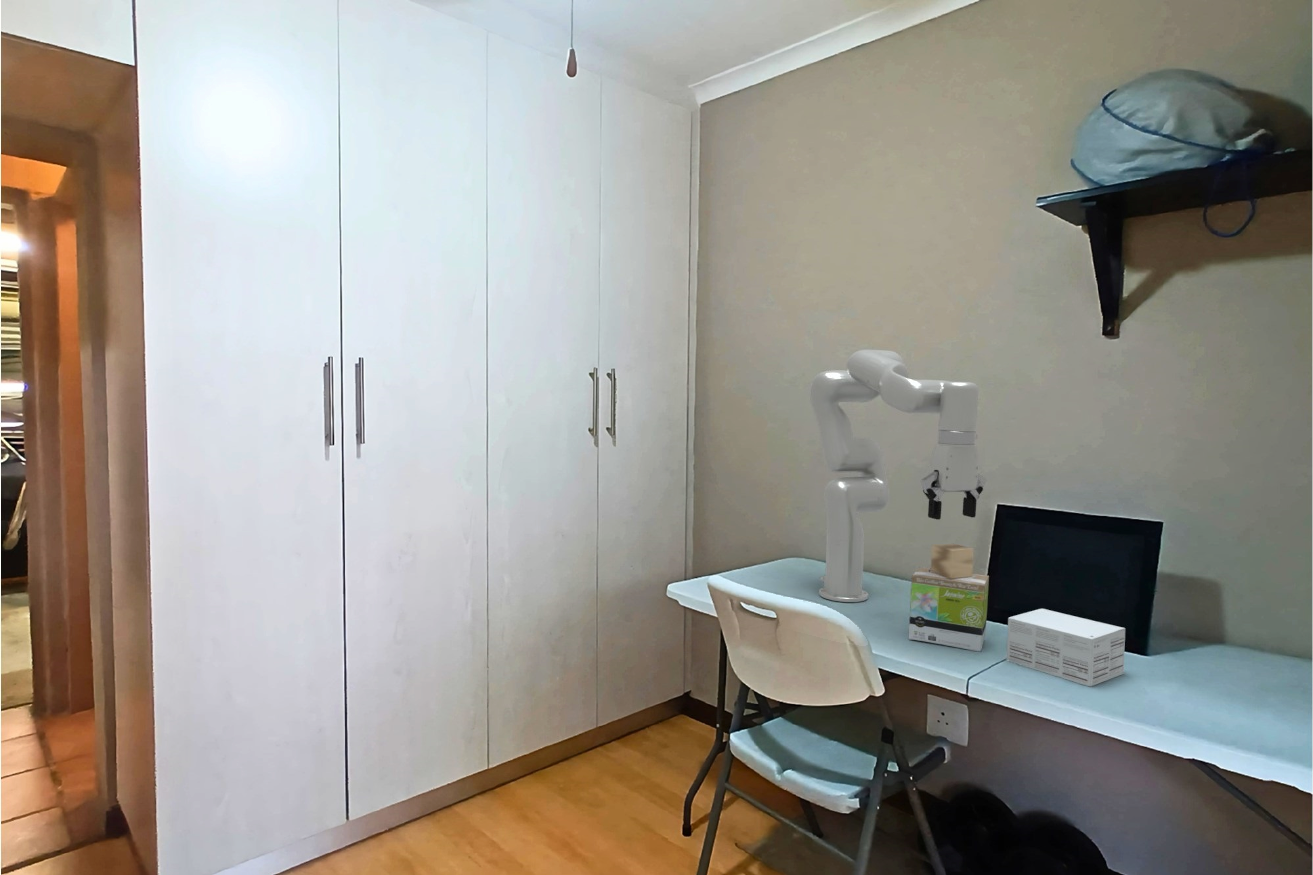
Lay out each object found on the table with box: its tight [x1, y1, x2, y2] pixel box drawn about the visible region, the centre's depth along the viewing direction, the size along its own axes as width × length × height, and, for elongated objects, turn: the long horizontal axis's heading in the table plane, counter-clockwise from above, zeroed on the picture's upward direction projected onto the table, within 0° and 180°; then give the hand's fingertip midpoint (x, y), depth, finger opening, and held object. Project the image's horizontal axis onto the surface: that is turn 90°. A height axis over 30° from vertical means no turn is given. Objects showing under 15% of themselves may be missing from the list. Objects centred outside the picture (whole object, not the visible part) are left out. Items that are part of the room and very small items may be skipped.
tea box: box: [908, 566, 990, 653], centre depth 168 cm, size 15×10×15 cm, turn 62°
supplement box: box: [1005, 608, 1126, 687], centre depth 153 cm, size 17×13×9 cm
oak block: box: [930, 543, 975, 579], centre depth 167 cm, size 6×6×6 cm
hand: (951, 517), depth 167 cm, fingers open, 9 cm apart
